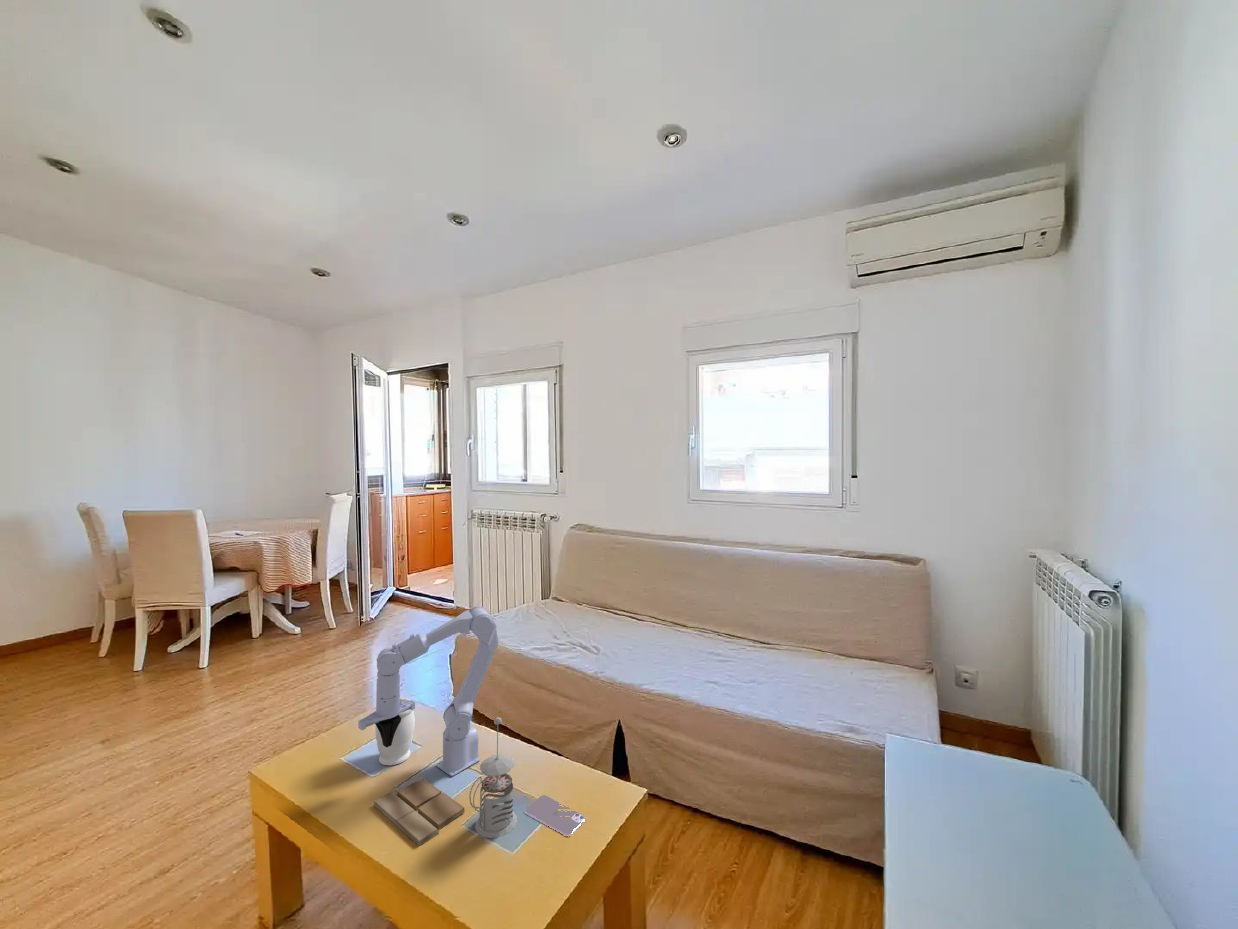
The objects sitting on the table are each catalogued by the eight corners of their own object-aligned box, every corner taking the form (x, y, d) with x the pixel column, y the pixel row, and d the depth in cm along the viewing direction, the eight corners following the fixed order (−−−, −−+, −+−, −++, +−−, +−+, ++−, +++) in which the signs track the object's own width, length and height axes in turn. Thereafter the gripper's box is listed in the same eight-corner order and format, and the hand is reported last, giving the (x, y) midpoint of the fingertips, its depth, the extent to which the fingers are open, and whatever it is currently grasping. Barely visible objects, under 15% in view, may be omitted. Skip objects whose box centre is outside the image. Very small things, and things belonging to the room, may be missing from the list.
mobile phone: (543, 792, 125) (589, 816, 117) (543, 796, 125) (588, 820, 117) (522, 809, 119) (568, 836, 110) (522, 813, 119) (568, 840, 110)
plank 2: (443, 797, 123) (443, 792, 123) (464, 812, 118) (464, 807, 118) (418, 813, 118) (418, 808, 118) (438, 830, 112) (438, 824, 112)
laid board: (392, 795, 124) (392, 790, 124) (438, 833, 111) (438, 828, 111) (374, 805, 120) (374, 800, 120) (419, 846, 107) (419, 840, 107)
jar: (421, 754, 142) (422, 703, 142) (388, 773, 133) (389, 719, 133) (400, 743, 147) (401, 694, 148) (367, 760, 139) (368, 708, 139)
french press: (525, 822, 115) (526, 718, 115) (481, 849, 107) (483, 736, 107) (503, 802, 122) (504, 703, 122) (460, 826, 114) (462, 720, 114)
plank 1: (422, 782, 129) (422, 777, 129) (441, 796, 124) (441, 791, 124) (397, 795, 124) (397, 791, 124) (415, 811, 118) (416, 806, 118)
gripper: (406, 681, 138) (405, 728, 138) (353, 700, 126) (352, 752, 126) (419, 688, 133) (418, 737, 133) (366, 708, 122) (365, 762, 122)
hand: (387, 745), depth 129 cm, fingers closed
